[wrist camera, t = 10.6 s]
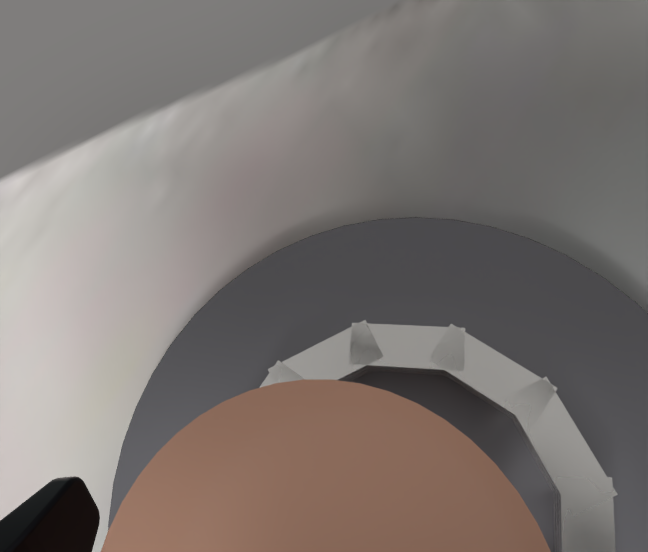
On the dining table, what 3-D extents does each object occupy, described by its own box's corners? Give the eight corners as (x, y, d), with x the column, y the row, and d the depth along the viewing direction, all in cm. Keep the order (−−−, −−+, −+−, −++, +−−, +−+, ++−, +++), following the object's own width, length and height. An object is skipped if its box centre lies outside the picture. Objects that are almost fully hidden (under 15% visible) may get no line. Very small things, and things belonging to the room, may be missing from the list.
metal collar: (698, 639, 14) (720, 655, 13) (308, 816, 14) (296, 847, 13) (477, 270, 18) (479, 258, 16) (174, 423, 18) (156, 421, 17)
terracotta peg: (530, 496, 16) (683, 580, 5) (430, 664, 15) (379, 1131, 5) (377, 391, 17) (264, 298, 7) (280, 537, 17) (-1, 673, 6)
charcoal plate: (938, 733, 13) (968, 750, 12) (242, 1035, 14) (231, 1068, 13) (519, 136, 19) (522, 123, 19) (61, 374, 20) (46, 371, 20)
